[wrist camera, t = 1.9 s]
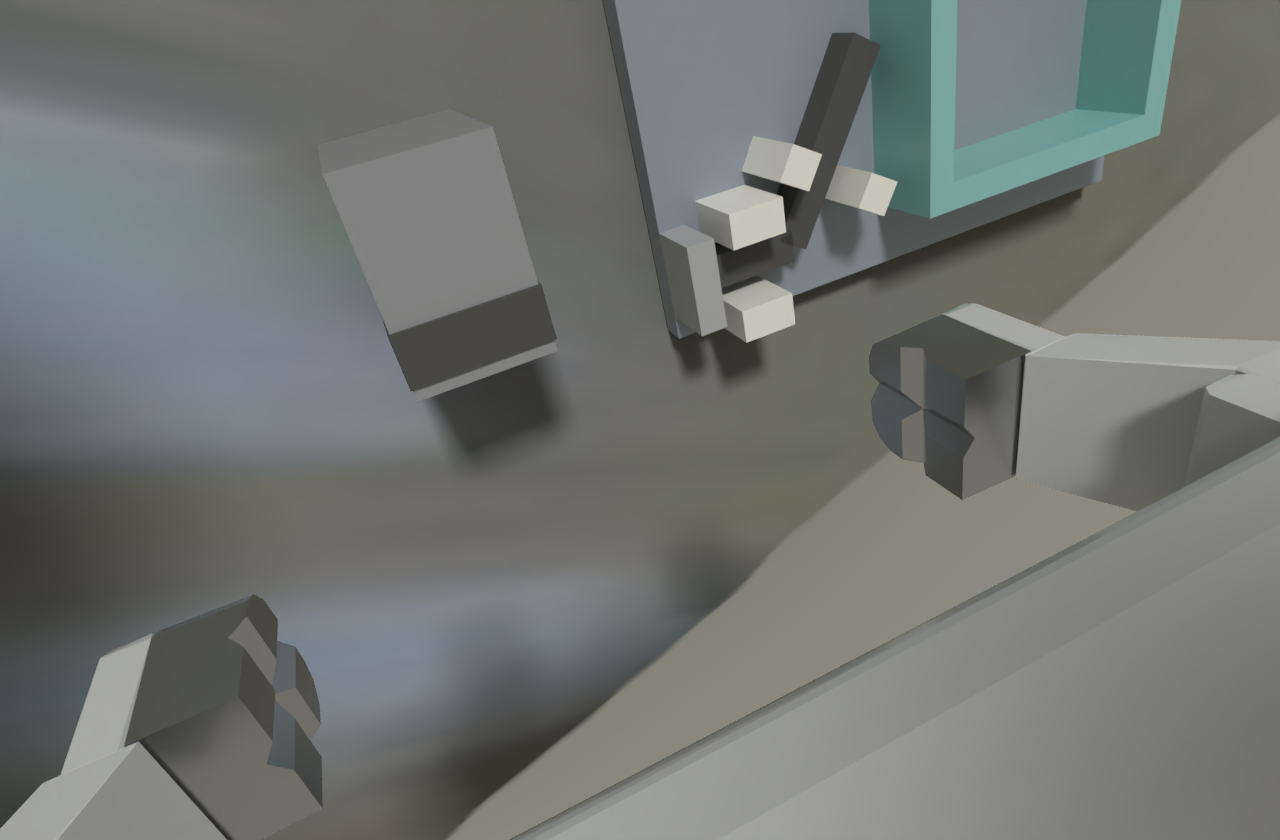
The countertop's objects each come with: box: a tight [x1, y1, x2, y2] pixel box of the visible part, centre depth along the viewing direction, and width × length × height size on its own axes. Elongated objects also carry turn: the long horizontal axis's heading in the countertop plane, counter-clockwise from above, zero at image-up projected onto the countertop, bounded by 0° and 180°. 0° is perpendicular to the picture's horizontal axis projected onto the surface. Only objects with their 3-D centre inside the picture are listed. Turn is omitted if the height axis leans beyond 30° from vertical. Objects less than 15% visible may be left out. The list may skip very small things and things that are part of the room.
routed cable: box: [715, 32, 881, 288], centre depth 26 cm, size 4×10×1 cm, turn 142°
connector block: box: [317, 109, 558, 402], centre depth 21 cm, size 6×4×6 cm
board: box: [603, 0, 1105, 343], centre depth 26 cm, size 15×21×4 cm
